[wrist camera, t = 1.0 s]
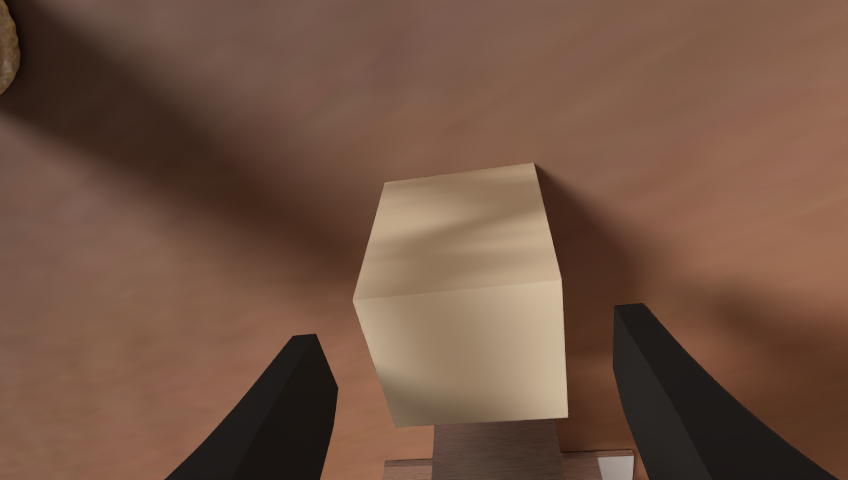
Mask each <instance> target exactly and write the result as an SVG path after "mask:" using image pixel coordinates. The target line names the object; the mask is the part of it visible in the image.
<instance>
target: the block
mask: <svg viewBox="0 0 848 480" xmlns="http://www.w3.org/2000/svg"><path fill="white" fill-rule="evenodd" d="M353 303H354V306H355V309H356V312H357V315H358V318H359V321H360V324H361V327H362V330H363V333H364V336H365V339H366V342H367V344H368V347H369V350H370V353H371V356H372V359H373V362H374V365H375V368H376V371H377V374H378V377H379V380H380V383H381V386H382V389H383V392H384V394H385V397H386V400H387V403H388V406H389V409H390V412H391V415H392V418H393V421H394V424H395V427H408V426H426V425H443V424H461V423H479V422H497V421H515V420H532V419H550V418H568V405H567V384H566V362H565V341H564V319H563V298H562V279H561V275H560V271H559V267H558V262H557V258H556V254H555V250H554V246H553V242H552V237H551V233H550V229H549V225H548V221H547V216H546V212H545V208H544V204H543V200H542V195H541V191H540V187H539V183H538V179H537V174H536V170H535V166H534V163H528V164H521V165H513V166H506V167H498V168H491V169H483V170H476V171H468V172H461V173H453V174H446V175H439V176H431V177H424V178H416V179H409V180H401V181H394V182H386V183H385V184H384V187H383V191H382V195H381V198H380V202H379V206H378V209H377V213H376V217H375V220H374V224H373V227H372V231H371V235H370V238H369V242H368V246H367V249H366V253H365V257H364V260H363V264H362V268H361V271H360V275H359V278H358V282H357V286H356V289H355V293H354V297H353Z"/></svg>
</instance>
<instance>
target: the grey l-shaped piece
mask: <svg viewBox="0 0 848 480" xmlns="http://www.w3.org/2000/svg"><path fill="white" fill-rule="evenodd" d="M431 480H565V475H564V469H563V463H562V457H561V451H560V445H559V439H558V433H557V427H556V421H555V418H550V419H532V420H515V421H497V422H479V423H461V424H443V425H435V427H434V444H433V461H432V478H431Z"/></svg>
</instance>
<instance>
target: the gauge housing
mask: <svg viewBox="0 0 848 480" xmlns="http://www.w3.org/2000/svg"><path fill="white" fill-rule="evenodd" d="M561 457H562V463H563V469H564V475H565V480H632V477H633V462H634V455H633V451H632V450H616V451H594V452H573V453H561ZM432 461H433V459H425V460H404V461H385V466H384V473H383V480H431V478H432Z"/></svg>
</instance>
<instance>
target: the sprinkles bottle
mask: <svg viewBox="0 0 848 480" xmlns="http://www.w3.org/2000/svg"><path fill="white" fill-rule="evenodd" d="M19 60H20V50H19V46H18V37H17V35H16V26H15V22H14V21H13V19H12V18H11V16H10V14H9V11H8V7H7V5H6V4H5V2H4V1H3V0H0V94H2V93H3V92H4V91H5V89H6V88H8V87H9V85H10V84H11V82H12V81H13V80H14V78H15V73H16V72H17V70H18V69H19V65H20V64H19Z"/></svg>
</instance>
